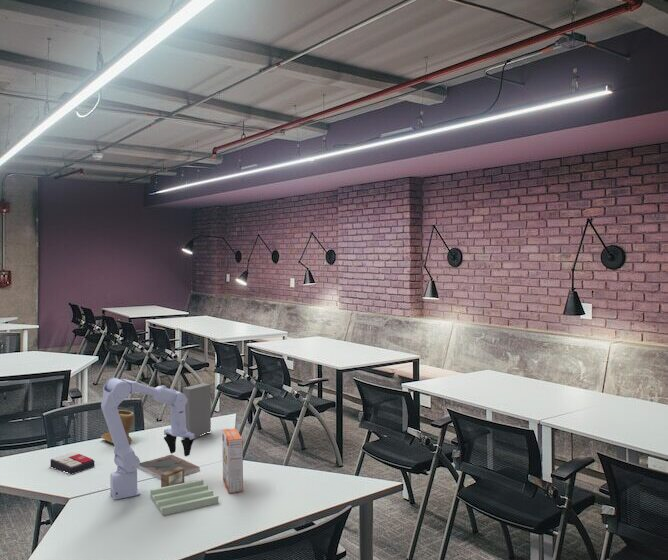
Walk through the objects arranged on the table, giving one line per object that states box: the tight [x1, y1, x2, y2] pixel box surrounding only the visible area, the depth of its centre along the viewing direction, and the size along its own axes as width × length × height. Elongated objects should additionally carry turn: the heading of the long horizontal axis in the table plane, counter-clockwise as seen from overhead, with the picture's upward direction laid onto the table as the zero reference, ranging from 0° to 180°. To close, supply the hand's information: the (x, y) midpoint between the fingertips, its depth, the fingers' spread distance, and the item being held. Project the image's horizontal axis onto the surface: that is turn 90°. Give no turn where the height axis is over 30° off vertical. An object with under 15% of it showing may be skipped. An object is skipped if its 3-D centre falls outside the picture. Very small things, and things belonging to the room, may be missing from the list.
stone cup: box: [100, 409, 135, 444], centre depth 279 cm, size 15×12×15 cm
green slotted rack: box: [149, 479, 219, 516], centre depth 214 cm, size 20×18×2 cm
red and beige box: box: [50, 451, 95, 475], centre depth 246 cm, size 11×4×15 cm
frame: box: [160, 467, 185, 488], centre depth 227 cm, size 9×3×6 cm, turn 146°
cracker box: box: [221, 428, 244, 494], centre depth 226 cm, size 14×6×21 cm, turn 20°
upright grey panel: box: [182, 382, 212, 438], centre depth 288 cm, size 14×6×25 cm, turn 145°
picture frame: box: [138, 454, 201, 481], centre depth 244 cm, size 16×2×22 cm
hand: (180, 454), depth 233 cm, fingers open, 7 cm apart
